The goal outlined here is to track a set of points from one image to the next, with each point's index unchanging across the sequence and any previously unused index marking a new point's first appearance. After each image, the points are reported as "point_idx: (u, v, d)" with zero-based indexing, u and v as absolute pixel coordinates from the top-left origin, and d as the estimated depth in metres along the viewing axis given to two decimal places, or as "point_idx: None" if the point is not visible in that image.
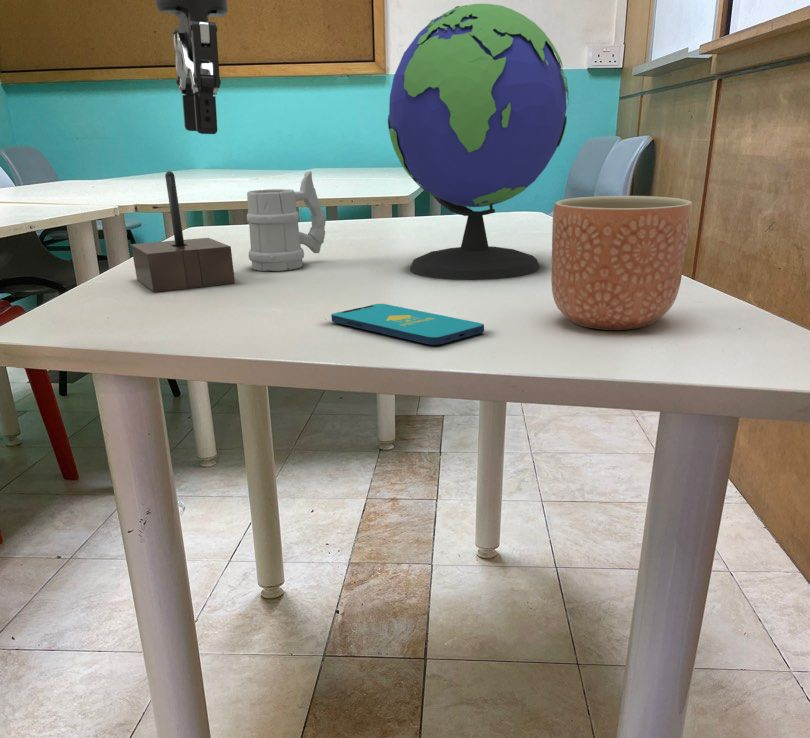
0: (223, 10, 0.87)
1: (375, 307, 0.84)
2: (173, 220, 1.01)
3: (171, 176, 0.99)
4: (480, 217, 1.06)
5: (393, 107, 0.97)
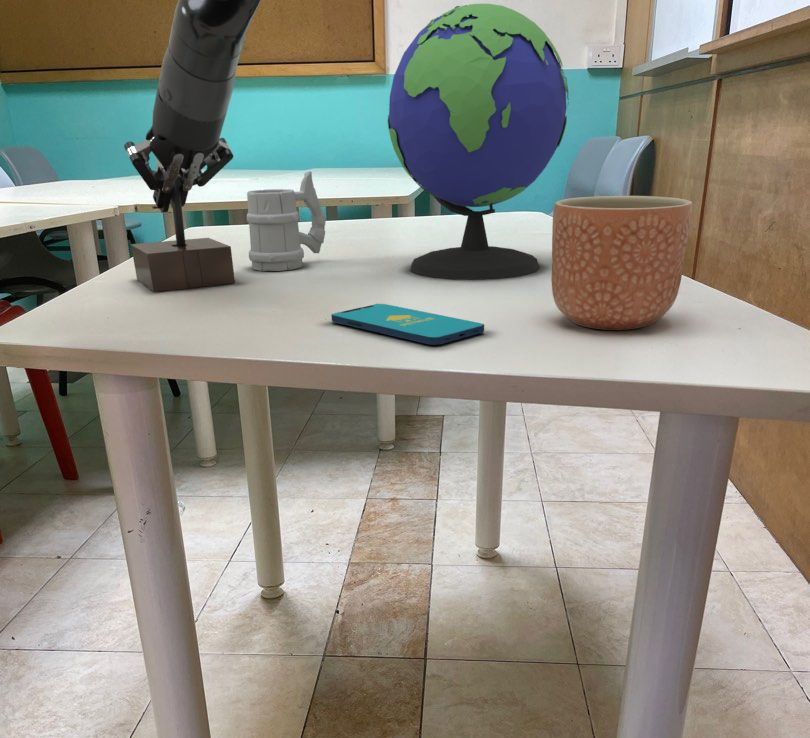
0: (179, 145, 0.90)
1: (375, 307, 0.84)
2: (175, 221, 1.01)
3: None
4: (480, 217, 1.06)
5: (393, 107, 0.97)
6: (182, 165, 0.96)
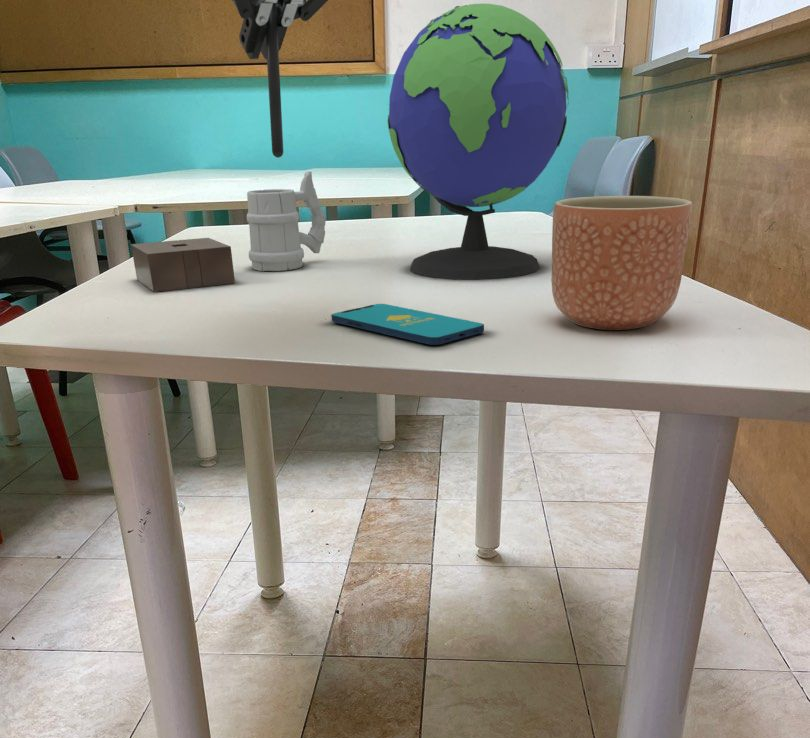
0: None
1: (375, 307, 0.84)
2: (270, 69, 0.75)
3: None
4: (480, 217, 1.06)
5: (393, 107, 0.97)
6: None
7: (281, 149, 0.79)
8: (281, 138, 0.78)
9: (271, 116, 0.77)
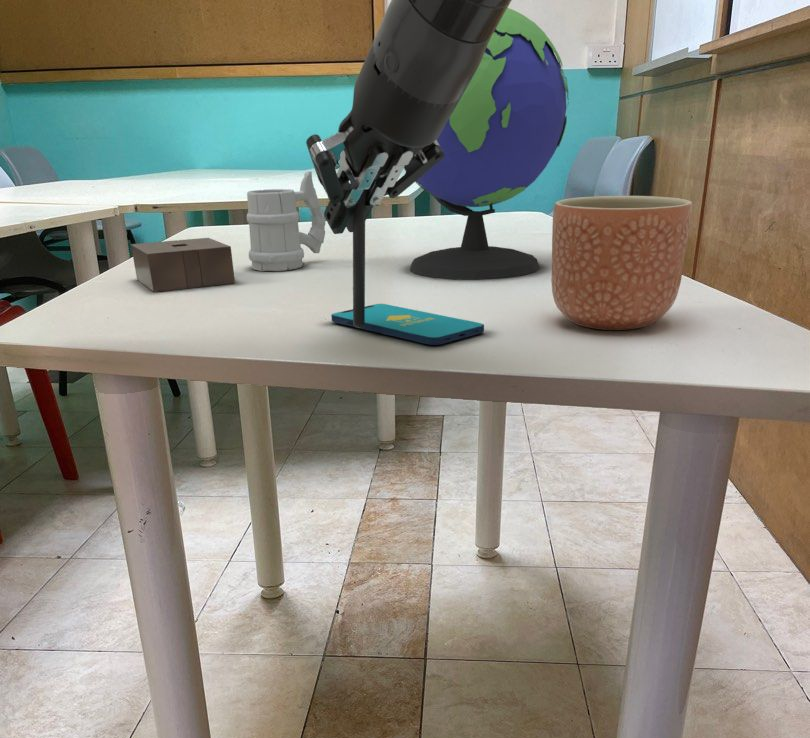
0: (392, 140, 0.62)
1: (375, 307, 0.84)
2: (356, 246, 0.72)
3: None
4: (480, 217, 1.06)
5: None
6: (379, 169, 0.67)
7: (362, 321, 0.76)
8: (363, 310, 0.76)
9: (354, 290, 0.75)
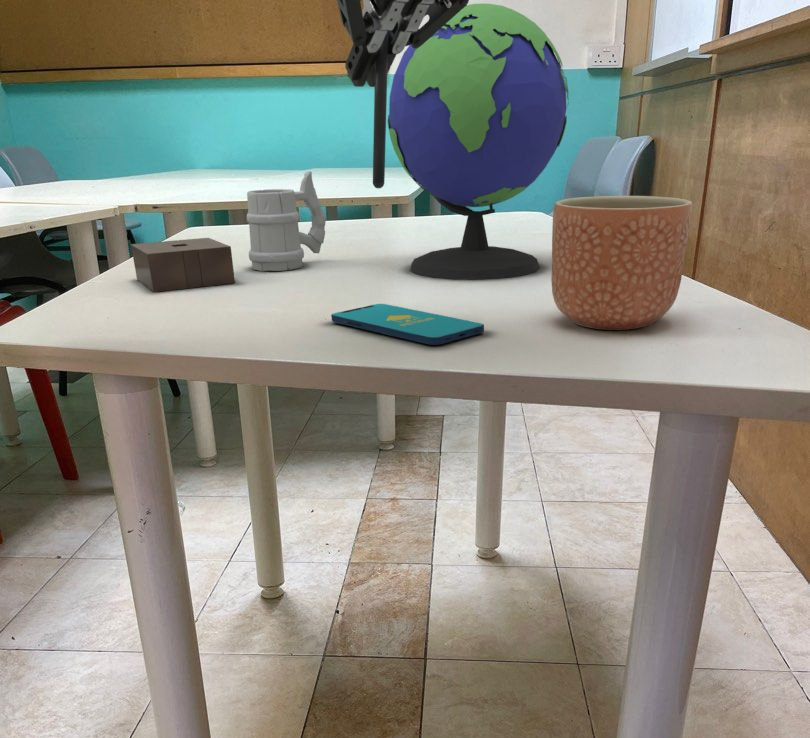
0: None
1: (375, 307, 0.84)
2: (377, 97, 0.72)
3: None
4: (480, 217, 1.06)
5: (393, 107, 0.97)
6: (403, 8, 0.66)
7: (382, 181, 0.75)
8: (383, 169, 0.75)
9: (375, 146, 0.74)
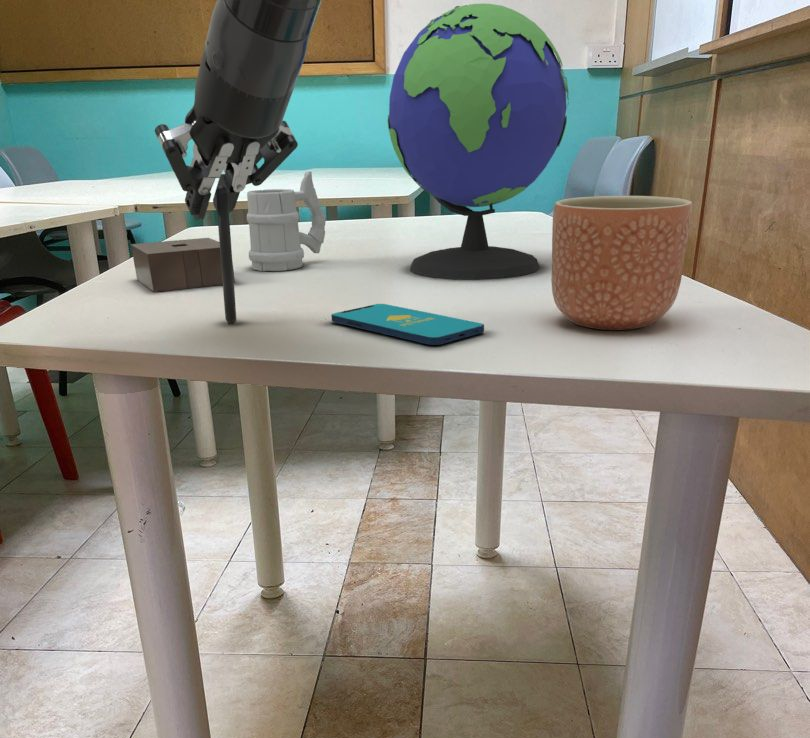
0: (230, 131, 0.67)
1: (375, 307, 0.84)
2: (222, 248, 0.78)
3: (223, 193, 0.76)
4: (480, 217, 1.06)
5: (393, 107, 0.97)
6: (230, 158, 0.73)
7: (233, 317, 0.82)
8: (234, 307, 0.82)
9: (224, 288, 0.81)
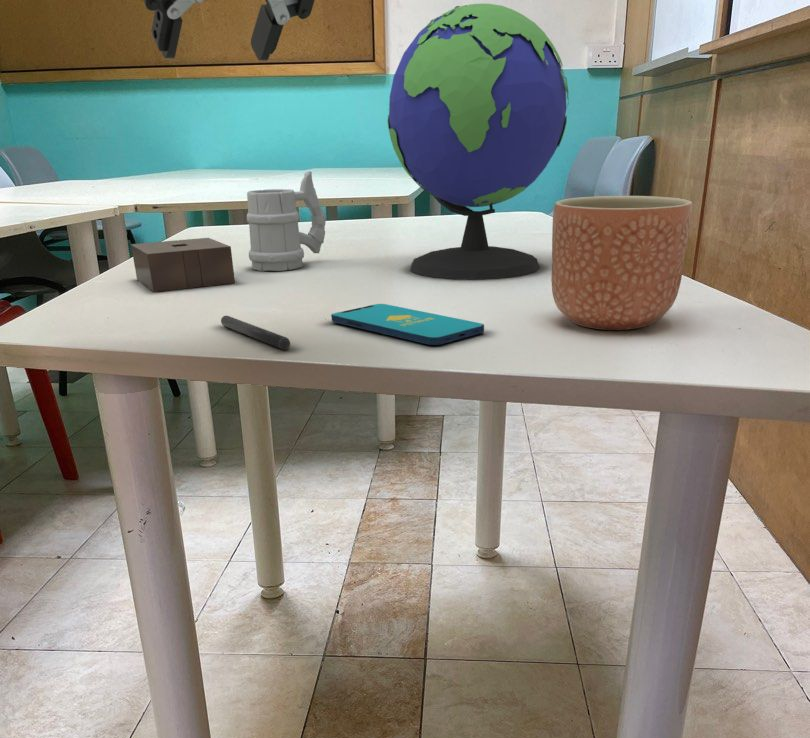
0: None
1: (375, 307, 0.84)
2: None
3: None
4: (480, 217, 1.06)
5: (393, 107, 0.97)
6: None
7: None
8: None
9: None
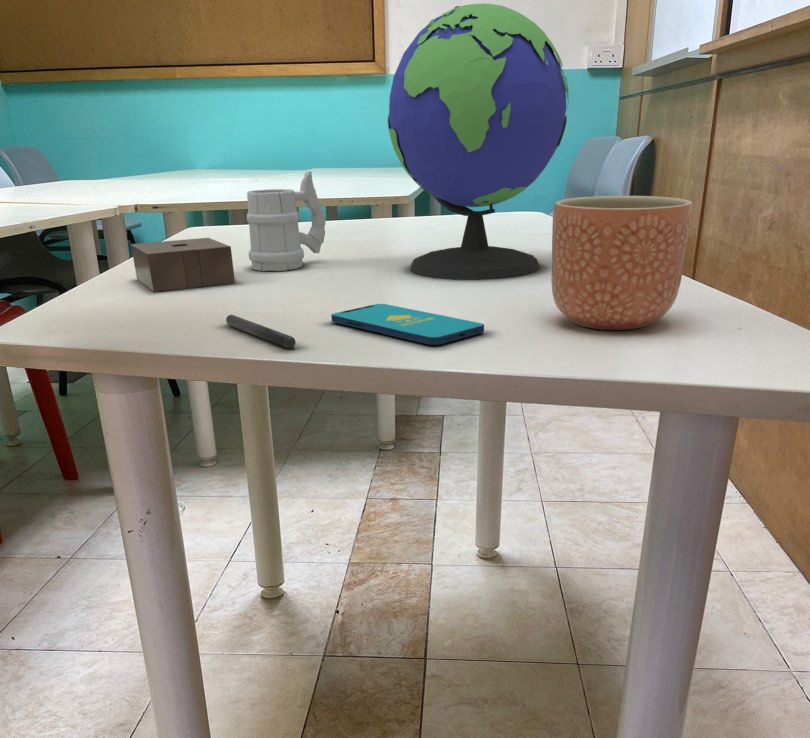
0: None
1: (375, 307, 0.84)
2: None
3: None
4: (480, 217, 1.06)
5: (393, 107, 0.97)
6: None
7: None
8: None
9: (243, 330, 0.79)
